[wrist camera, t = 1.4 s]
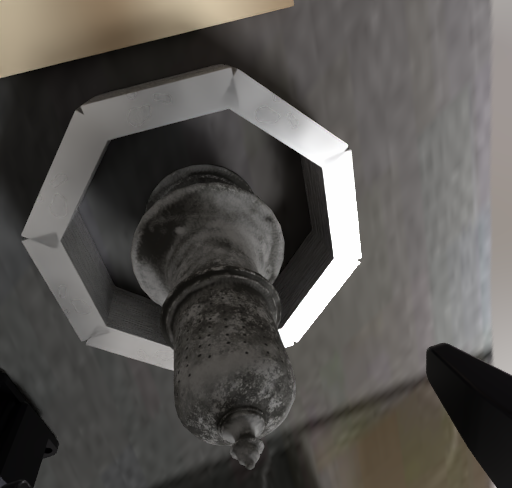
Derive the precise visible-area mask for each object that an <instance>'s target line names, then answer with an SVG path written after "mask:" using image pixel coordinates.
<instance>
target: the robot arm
mask: <svg viewBox="0 0 512 488" xmlns="http://www.w3.org/2000/svg"><path fill="white" fill-rule="evenodd" d="M426 373H427V377H428V380H429V382H430V384H431V386H432V387H433V389H434V391H435V393H436V394H437V396H438V398H439V399H440V401H441V403H442V405H443V406H444V408H445V410H446V411H447V413H448V415H449V416H450V418H451V420H452V422H453V423H454V425H455V427H456V428H457V430H458V432H459V433H460V435H461V437H462V438H463V440H464V442H465V443H466V445H467V447H468V448H469V450H470V451H471V452H472V454H473V455H474V457H475V458H476V460H477V461H478V462H479V464H480V465H481V466H482V468H483V469H484V471H485V472H486V473H487V475H488V476H489V478H490V479H491V480H492V482H493V483H494V484H495V486H496V487H497V488H512V375H510V374H508V373H506V372H504V371H502V370H500V369H498V368H496V367H494V366H492V365H490V364H488V363H486V362H484V361H482V360H480V359H478V358H476V357H474V356H472V355H470V354H468V353H466V352H464V351H462V350H460V349H458V348H456V347H454V346H452V345H450V344H447V343H440V344H437V345H434V346H431V347H429V348H428V349H427V352H426ZM58 446H59V443H58V441H57V439H56V438H55V437H54V436H53V434H52V433H51V432H50V430H49V429H48V428H47V426H46V425H45V424H44V422H43V421H42V420H41V419H40V417H39V416H38V415H37V413H36V412H35V411H34V410H33V408H32V407H31V406H30V404H29V403H28V402H27V401H26V399H25V398H24V397H23V396H22V394H21V393H20V392H19V390H18V389H17V388H16V387H15V385H14V384H13V383H12V381H11V380H10V379H9V378H8V376H6V375H5V374H3V373H0V488H33V487H34V484H35V481H36V478H37V474H38V471H39V468H40V465H41V462H42V459H43V458H47V457H50V456H52V455H55V454H56V453H57V449H58Z"/></svg>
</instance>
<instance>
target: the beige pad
mask: <svg viewBox="0 0 512 488" xmlns="http://www.w3.org/2000/svg"><path fill="white" fill-rule="evenodd" d="M291 6H294V3H293V0H0V78H3V77H7V76H11V75H15V74H19V73H24V72H28V71H32V70H36V69H40V68H44V67H48V66H52V65H56V64H60V63H64V62H68V61H72V60H76V59H80V58H84V57H89V56H93V55H97V54H101V53H105V52H109V51H113V50H117V49H121V48H125V47H129V46H133V45H137V44H141V43H145V42H149V41H154V40H158V39H162V38H166V37H170V36H174V35H178V34H182V33H186V32H190V31H194V30H198V29H202V28H206V27H210V26H215V25H219V24H223V23H227V22H231V21H235V20H239V19H243V18H247V17H251V16H255V15H259V14H263V13H267V12H271V11H275V10H280V9H284V8H288V7H291Z"/></svg>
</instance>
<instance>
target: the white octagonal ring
mask: <svg viewBox="0 0 512 488" xmlns="http://www.w3.org/2000/svg"><path fill="white" fill-rule="evenodd" d="M225 109H231V110H232V111H234V112H235V113H237V114H238V115H240V116H242V117H243V118H245V119H246V120H248V121H249V122H251V123H253V124H254V125H256V126H257V127H259V128H260V129H262V130H264V131H265V132H267V133H268V134H270V135H272V136H273V137H275V138H276V139H278V140H279V141H281V142H283V143H284V144H286V145H287V146H289V147H290V148H292V149H294V150H295V151H297V152H298V153H300V157H301V164H302V170H303V176H304V182H305V189H306V195H307V201H308V207H309V214H310V220H311V226H312V230H311V232H310V233H309V234H308V236H307V237H306V239H305V240H304V241H303V243H302V244H301V246H300V247H299V249H298V250H297V251H296V253H295V254H294V256H293V257H292V258H291V260H290V261H289V263H288V264H287V265H286V267H285V268H284V270H283V271H282V272H281V274H280V275H279V277H278V278H277V280H276V281H275V282H274V284H273V287H274V288H275V289H276V291H277V292H278V295H279V298H280V302H281V306H282V309H281V320H280V322H279V325H278V331H279V334H280V336H281V339H282V342H283V344H284V347H288V346H291V345H294V344H293V341H295V342H298V341H299V340H300V338H301V337H302V336H303V335H304V333H305V332H306V331H307V329H308V328H309V327H310V326H311V324H312V323H313V322H314V320H315V319H316V318H317V317H318V315H319V314H320V313H321V311H322V310H323V309H324V308H325V306H326V305H327V304H328V302H329V301H330V300H331V299H332V297H333V296H334V295H335V293H336V292H337V291H338V290H339V288H340V287H341V286H342V284H343V283H344V282H345V281H346V279H347V278H348V277H349V275H350V274H351V273H352V272H353V270H354V269H355V268H356V266H357V265H358V264H359V263H360V262H359V261H358V260H357V259H359V258H361V251H360V240H359V229H358V218H357V207H356V196H355V185H354V175H353V164H352V153H351V149H349V148H347V147H348V144H346V143H345V142H343V141H342V140H340V139H339V138H337V137H336V136H335V135H333V134H332V133H330V132H329V131H327V130H326V129H324V128H323V127H322V126H320V125H319V124H317V123H316V122H314V121H313V120H311V119H310V118H308V117H307V116H306V115H304V114H303V113H301V112H300V111H298V110H297V109H295V108H294V107H293V106H291V105H290V104H288V103H287V102H285V101H284V100H282V99H281V98H280V97H278V96H277V95H275V94H274V93H272V92H271V91H269V90H268V89H267V88H265V87H264V86H262V85H261V84H259V83H258V82H256V81H255V80H253V79H252V78H251V77H249V76H248V75H246V74H245V73H243V72H242V71H240V70H239V69H237V68H234V67H231V66H229V65H223V64H217V65H213V66H209V67H206V68H202V69H198V70H194V71H190V72H186V73H182V74H178V75H174V76H170V77H166V78H162V79H158V80H154V81H150V82H146V83H142V84H138V85H135V86H131V87H127V88H123V89H119V90H115V91H111V92H107V93H103V94H99V95H96V96H95V97H93V98H92V99H90V100H89V101H87V102H86V103H84V104H83V105H81V107H79V108H78V109H76V110H75V112H74V114H73V117H72V119H71V121H70V124H69V126H68V128H67V130H66V133H65V135H64V137H63V140H62V142H61V144H60V147H59V149H58V151H57V154H56V156H55V158H54V160H53V163H52V165H51V167H50V170H49V172H48V174H47V177H46V179H45V181H44V184H43V186H42V188H41V190H40V193H39V195H38V197H37V200H36V202H35V204H34V207H33V209H32V211H31V214H30V216H29V218H28V220H27V223H26V225H25V227H24V230H23V232H22V234H21V236H23V237H24V239H23V240H22V243H23V245H24V246H25V248H26V250H27V251H28V253H29V255H30V256H31V258H32V260H33V261H34V263H35V265H36V266H37V268H38V270H39V271H40V273H41V275H42V276H43V278H44V280H45V281H46V283H47V285H48V286H49V288H50V290H51V291H52V293H53V295H54V296H55V298H56V300H57V301H58V303H59V305H60V307H61V308H62V310H63V312H64V313H65V315H66V317H67V318H68V320H69V322H70V323H71V325H72V327H73V328H74V330H75V332H76V333H77V335H78V337H79V338H80V340H81V341H84V340H87V341H86V345H89V346H93V347H96V348H99V349H103V350H106V351H109V352H113V353H116V354H119V355H123V356H126V357H129V358H133V359H136V360H139V361H143V362H146V363H149V364H153V365H156V366H159V367H163V368H166V369H169V370H173V371H174V350H173V349H172V348H171V347H170V346H169V345H168V344H167V343H166V341H165V339H164V337H163V335H162V333H161V327H160V314H161V309H162V306H160V305H159V304H157V303H155V302H154V301H153V300H150V299H148V298H145V297H142V296H140V295H137V294H134V293H132V292H129V291H126V290H123V289H121V288H118V287H115V285H114V283H113V281H112V279H111V277H110V275H109V273H108V271H107V269H106V266H105V264H104V262H103V260H102V258H101V256H100V254H99V252H98V250H97V248H96V246H95V244H94V242H93V240H92V238H91V236H90V234H89V232H88V230H87V228H86V226H85V224H84V222H83V220H82V218H81V215H80V213H79V211H78V208H79V206H80V204H81V202H82V200H83V198H84V196H85V193H86V191H87V189H88V187H89V185H90V183H91V181H92V179H93V177H94V175H95V172H96V170H97V168H98V166H99V164H100V162H101V160H102V158H103V156H104V154H105V151H106V149H107V147H108V145H109V143H110V141H111V139H115V138H119V137H122V136H126V135H130V134H134V133H138V132H141V131H145V130H149V129H153V128H157V127H160V126H164V125H168V124H172V123H176V122H180V121H183V120H187V119H191V118H195V117H199V116H202V115H206V114H210V113H214V112H218V111H221V110H225Z"/></svg>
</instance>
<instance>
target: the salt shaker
mask: <svg viewBox="0 0 512 488" xmlns="http://www.w3.org/2000/svg"><path fill="white" fill-rule="evenodd" d="M284 243H285V242H284V238H283V234H282V229H281V225H280V224H279V222H278V220H277V219H276V217H275V215H274V213H273V212H272V210H271V209H270V208H269V207H268V206H267V205H266V204H265V203H264V202H263V201H262V200H261V199H260V198H259V197H257V196H256V195H254V193H253V192H252V190H251V188H250V187H249V185H248V184H247V183H246V182H245V181H244V180H243V179H242V178H241V177H240V176H238V175H237V174H235V173H233V172H231V171H229V170H228V169H226V168H223V167H218V166H214V165H210V164H206V165H191V166H188V167H185V168H181V169H178V170H176V171H175V172H173V173H171V174H170V175H168V176H166V177H165V178H164V179H163V180H162V181H161V182H160V183H159V184H158V185H157V186H156V187H155V188H154V190H153V192H152V194H151V196H150V198H149V200H148V202H147V206H146V212H145V215H144V216H143V217H142V219H141V221H140V223H139V225H138V227H137V229H136V231H135V233H134V236H133V242H132V248H131V260H132V267H133V272H134V274H135V276H136V278H137V281H138V283H139V285H140V287H141V288H142V289H143V290H144V292H145V293H146V294H147V295H148V296H149V297H150V298H151V299H152V300H153V301H154V302H155V303H157V304H159V305H160V306H162V309H161V314H160V327H161V333H162V335H163V337H164V339H165V341H166V343H167V344H168V345H169V346H170V347H171V348H172V349H173V350H174V400H175V407H176V411H177V414H178V417H179V419H180V420H181V422H182V424H183V426H184V427H185V428H187V429H188V430H189V431H190V432H191V433H192V434H194V435H195V436H196V437H197V438H198V439H200V440H202V441H205V442H207V443H209V444H215V445H220V446H232V447H231V450H230V453H231V456H232V458H234V459H237V460H238V461H239V463H240V464H242V465H244V466H246V468H247V469H249V470H251V469H253V468H254V467H255V463H256V462H257V461H258V459H259V457H260V453H262V451H263V448H264V444H263V442H262V440H260V438H262V437H264V436H265V435H267V434H269V433H271V432H272V431H273V430H274V429H276V428H277V427H278V426H279V425H280V424H281V423H282V422H283V421H284V419H285V418H286V417H287V415H288V413H289V411H290V408H291V406H292V404H293V402H294V399H295V393H296V382H295V375H294V372H293V368H292V365H291V363H290V360H289V357H288V355H287V352H286V350H285V347H284V344H283V342H282V339H281V336H280V334H279V331H278V325H279V322H280V320H281V309H282V306H281V302H280V298H279V295H278V292H277V291H276V289H275V288H274V287H273V285H272V284H273V282H274V281H275V279H276V278H277V276H278V274H279V271H280V268H281V265H282V262H283V260H284Z"/></svg>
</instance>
